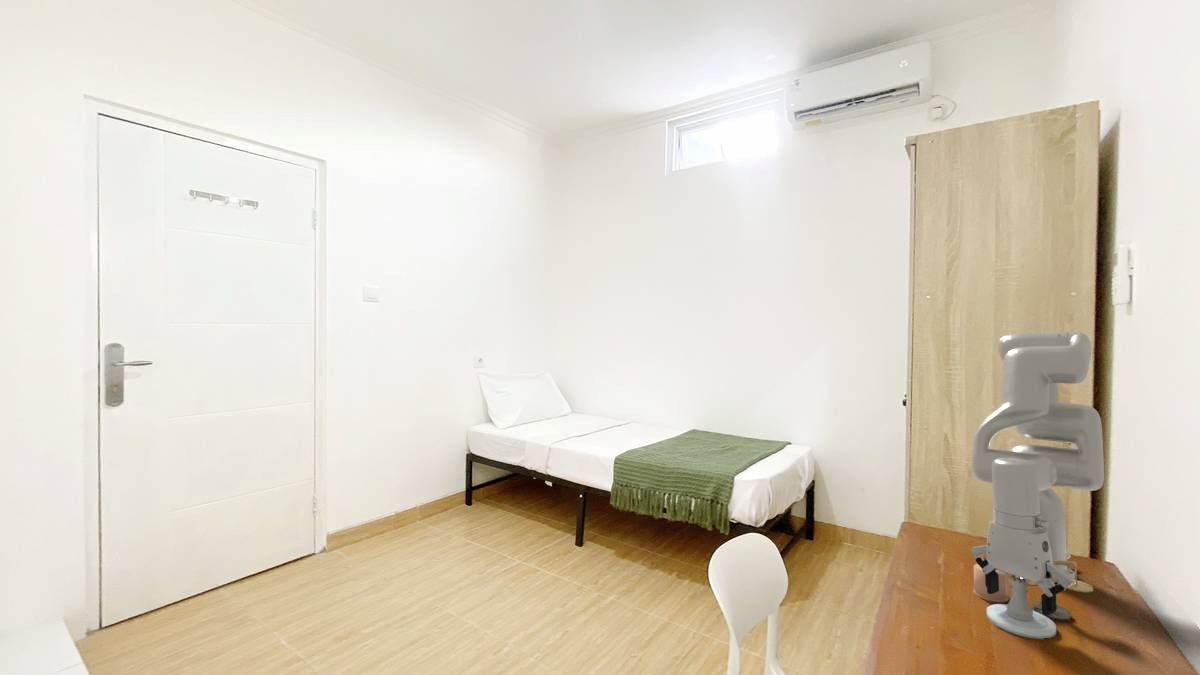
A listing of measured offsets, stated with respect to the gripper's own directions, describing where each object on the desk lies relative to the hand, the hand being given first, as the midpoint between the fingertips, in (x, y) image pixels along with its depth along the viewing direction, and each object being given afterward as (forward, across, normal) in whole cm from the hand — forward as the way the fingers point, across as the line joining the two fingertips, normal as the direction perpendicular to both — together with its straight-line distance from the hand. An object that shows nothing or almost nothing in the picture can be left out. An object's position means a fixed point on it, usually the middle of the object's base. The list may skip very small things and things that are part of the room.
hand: (1019, 602), depth 104 cm
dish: (+4, 0, 0) cm, 4 cm away
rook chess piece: (+3, 0, 0) cm, 3 cm away
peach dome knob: (+4, +9, -8) cm, 13 cm away
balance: (+4, -1, -10) cm, 11 cm away
